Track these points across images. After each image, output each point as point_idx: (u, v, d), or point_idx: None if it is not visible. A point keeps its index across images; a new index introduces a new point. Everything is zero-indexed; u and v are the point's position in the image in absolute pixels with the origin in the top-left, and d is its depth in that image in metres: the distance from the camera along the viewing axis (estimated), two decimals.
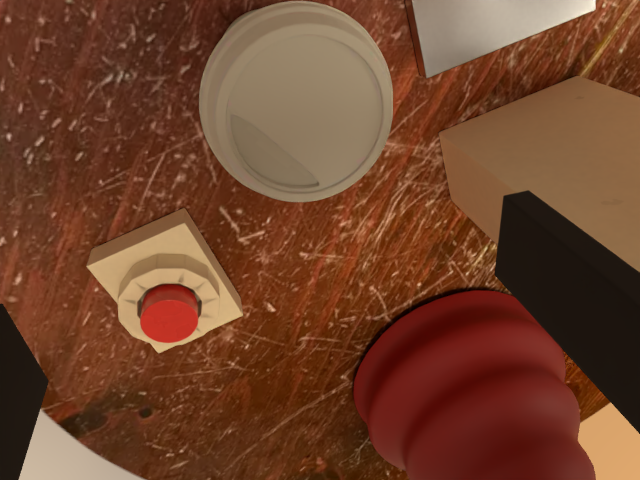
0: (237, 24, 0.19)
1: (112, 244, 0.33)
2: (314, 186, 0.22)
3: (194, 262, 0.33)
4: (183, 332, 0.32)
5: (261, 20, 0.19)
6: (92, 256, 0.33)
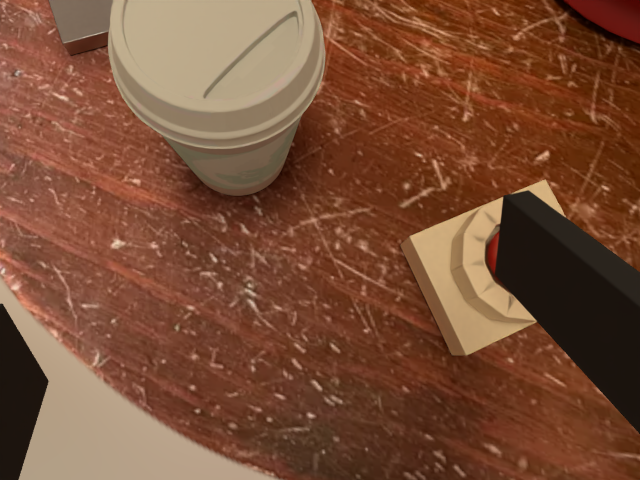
0: (129, 104, 0.19)
1: (442, 327, 0.28)
2: (297, 17, 0.19)
3: (461, 227, 0.27)
4: None
5: (117, 73, 0.18)
6: (457, 350, 0.27)
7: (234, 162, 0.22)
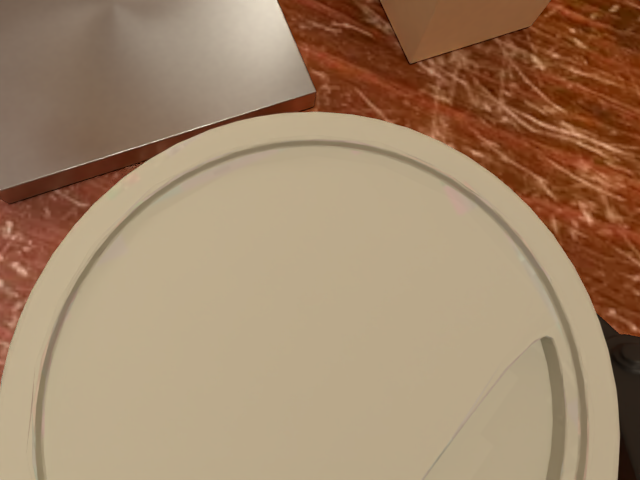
0: None
1: None
2: (553, 351, 0.06)
3: None
4: None
5: None
6: None
7: None
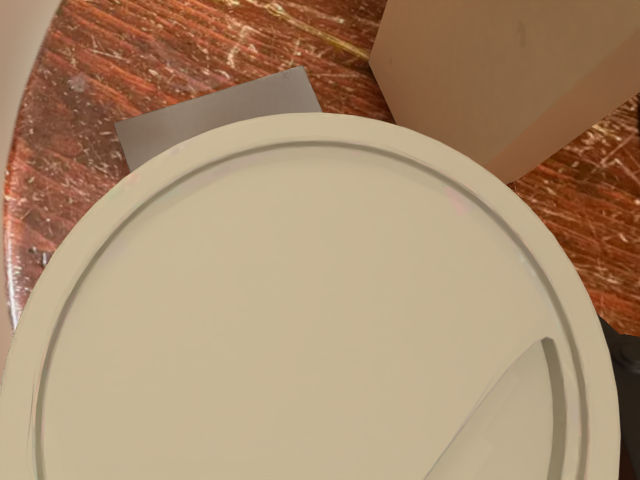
0: None
1: None
2: (555, 352, 0.06)
3: None
4: None
5: None
6: None
7: None
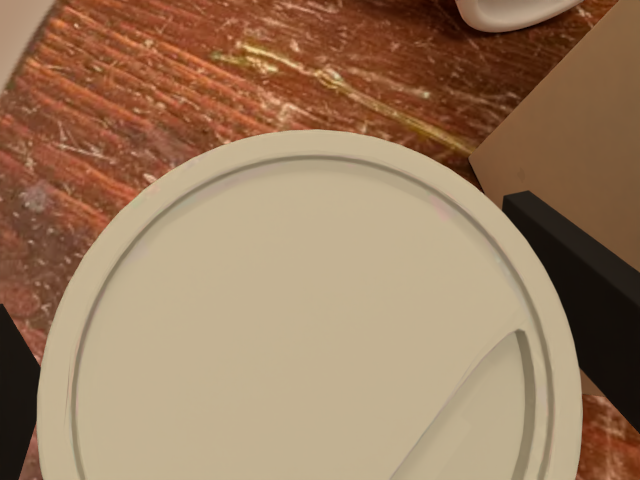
0: None
1: None
2: (526, 343, 0.07)
3: None
4: None
5: None
6: None
7: None
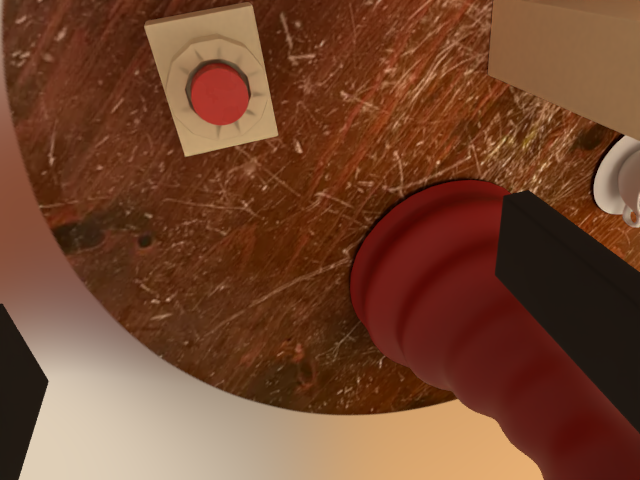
0: None
1: (170, 17, 0.32)
2: None
3: None
4: (230, 114, 0.32)
5: None
6: (149, 22, 0.32)
7: None
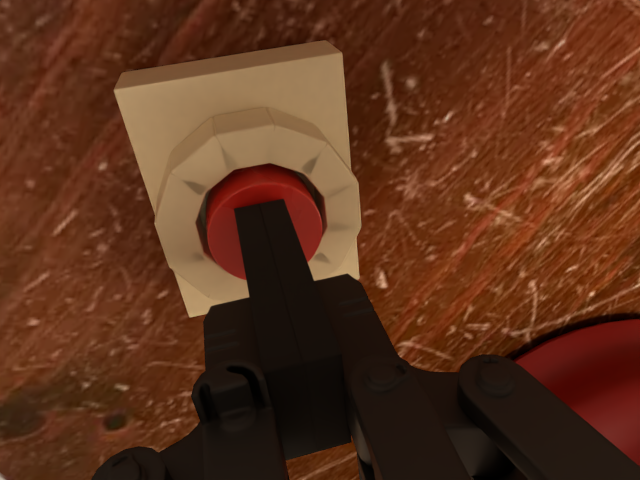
0: None
1: (172, 68, 0.16)
2: None
3: (331, 144, 0.16)
4: None
5: None
6: (126, 79, 0.15)
7: None
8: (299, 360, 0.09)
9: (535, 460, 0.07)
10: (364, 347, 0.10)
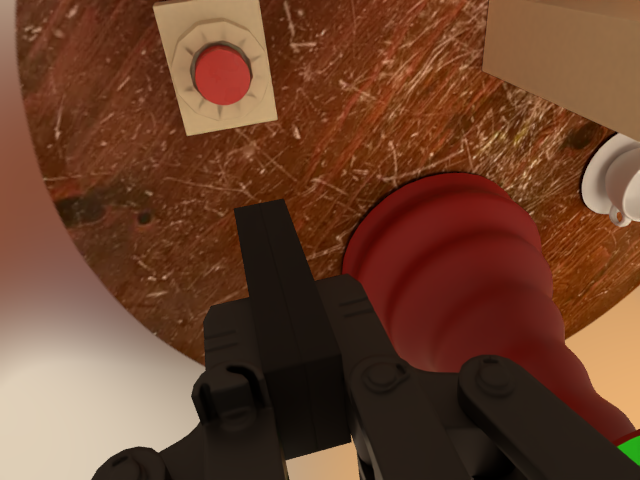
0: None
1: (178, 0, 0.34)
2: None
3: (254, 37, 0.34)
4: (232, 95, 0.33)
5: None
6: (157, 3, 0.33)
7: None
8: (299, 360, 0.09)
9: (535, 460, 0.07)
10: (363, 347, 0.10)
